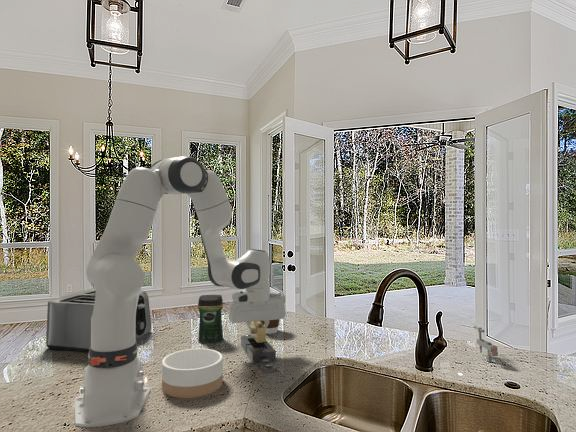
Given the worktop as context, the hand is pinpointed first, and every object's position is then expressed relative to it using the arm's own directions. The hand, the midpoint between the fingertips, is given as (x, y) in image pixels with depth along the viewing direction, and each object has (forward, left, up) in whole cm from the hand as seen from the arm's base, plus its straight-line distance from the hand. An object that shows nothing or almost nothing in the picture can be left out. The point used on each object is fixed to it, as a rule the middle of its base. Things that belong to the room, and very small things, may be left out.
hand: (257, 333), depth 138 cm
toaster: (+32, +56, -8) cm, 65 cm away
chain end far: (+5, 0, -8) cm, 9 cm away
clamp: (-28, -75, -8) cm, 80 cm away
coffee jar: (+19, +14, -8) cm, 25 cm away
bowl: (-19, +24, -8) cm, 32 cm away
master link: (0, 0, -2) cm, 2 cm away
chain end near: (-5, 0, -8) cm, 9 cm away
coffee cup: (+23, -11, -8) cm, 27 cm away
